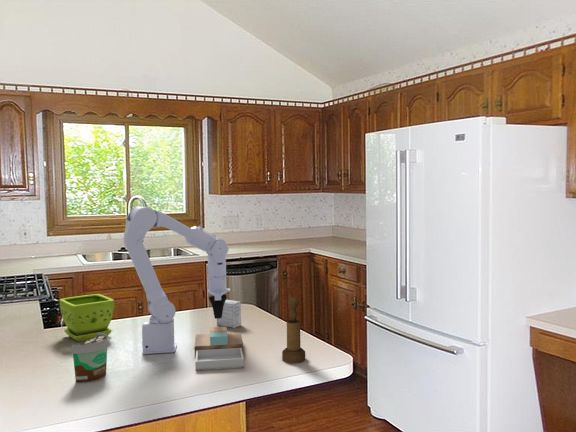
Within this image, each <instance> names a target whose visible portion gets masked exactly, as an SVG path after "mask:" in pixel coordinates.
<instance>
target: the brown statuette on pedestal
mask: <svg viewBox="0 0 576 432" xmlns="http://www.w3.org/2000/svg"><path fill="white" fill-rule="evenodd" d="M299 303H300V301H299V299H298V297H296V296H291V297H289V298H288V300H287V305H288V306H289V308H290V311H289V314H288V315H289V319H288V320H286V347H285V348H284V349H283V350H282V351H281V354H282V355H281V360H282V361H283V362H285V363H288V364H297V363H298V364H299V363H304V362H305V361H304V360H306V350H305V349H303V348H302V347H301V320H300V319H297V317H298V312H297V307H298V306H299Z"/></svg>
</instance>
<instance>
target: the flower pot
mask: <svg viewBox="0 0 576 432" xmlns="http://www.w3.org/2000/svg"><path fill="white" fill-rule="evenodd" d="M59 308H60V313H61V316H62V319H63V323H64V325H65V326H66V328H64V329H63V332H65V334H66V335H68V337H70V338H72V339H73V340H74V341H76V342H78V343H82V342H84V341H86V340H89V339H92V338H94V337H96V336H97V333H104V334H106V335H107V336H108V337H109V335H111V333H112V331H113V329H111V328H109V326H110V323H111V321H112V318H113V315H114V310H115V300H114V299H113V298H111V297H108V296H105V295H103V294H100V293H95V294H94V293H93V294H86V295H79V296H77V295H76V296H72V297H71V296H70V297H65V298H60V299H59Z"/></svg>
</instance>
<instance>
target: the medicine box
mask: <svg viewBox="0 0 576 432" xmlns="http://www.w3.org/2000/svg"><path fill="white" fill-rule="evenodd" d="M216 325H217V326H219V327H227V328H233V329H235V328H238V327H240V326H242V303H241V301H237V300H232V299H231V300H230V299H226V301H225V303H224V307H223V313H222V318H217V319H216Z"/></svg>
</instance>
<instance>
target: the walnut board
mask: <svg viewBox="0 0 576 432" xmlns="http://www.w3.org/2000/svg"><path fill="white" fill-rule="evenodd" d="M227 336H228V345H211V346H210V333H202V334H201V333H200V334H195V337H194V338H195V339H194V359H196V350H210V349H227V348H242V352H243V353H244V342H243V337H242V332H239V331H238V332H227Z"/></svg>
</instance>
